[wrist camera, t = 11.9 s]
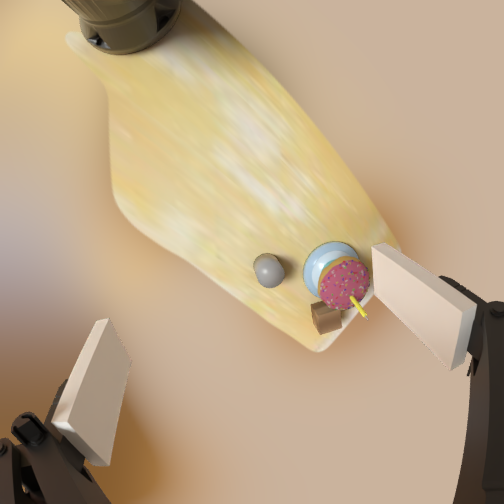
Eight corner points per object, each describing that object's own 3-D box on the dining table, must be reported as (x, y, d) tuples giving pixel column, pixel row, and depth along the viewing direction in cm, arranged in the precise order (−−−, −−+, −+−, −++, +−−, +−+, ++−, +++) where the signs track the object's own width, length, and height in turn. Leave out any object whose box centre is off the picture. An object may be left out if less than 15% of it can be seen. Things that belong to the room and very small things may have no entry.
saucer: (298, 250, 48) (300, 253, 47) (354, 234, 49) (357, 236, 48) (307, 303, 52) (309, 306, 51) (359, 286, 52) (362, 289, 51)
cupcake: (359, 284, 51) (395, 319, 40) (315, 303, 51) (343, 344, 40) (350, 240, 48) (389, 268, 37) (302, 259, 48) (331, 294, 36)
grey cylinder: (250, 257, 48) (254, 266, 44) (275, 250, 48) (281, 259, 44) (256, 279, 49) (260, 290, 45) (280, 273, 49) (286, 283, 45)
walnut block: (310, 304, 52) (318, 316, 48) (331, 297, 52) (340, 308, 49) (312, 322, 54) (320, 334, 50) (333, 316, 54) (341, 327, 50)
